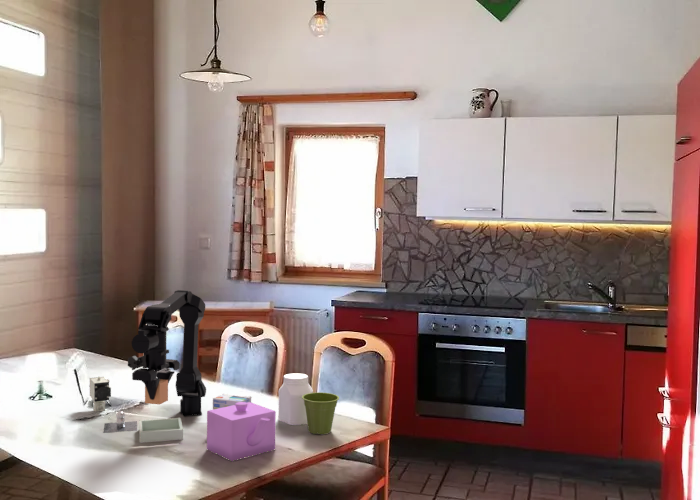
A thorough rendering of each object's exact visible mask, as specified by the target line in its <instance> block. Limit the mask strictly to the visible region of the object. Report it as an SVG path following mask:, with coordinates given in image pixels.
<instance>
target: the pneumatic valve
mask: <svg viewBox="0 0 700 500" xmlns="http://www.w3.org/2000/svg"><path fill="white" fill-rule="evenodd" d="M88 386H89V396H90V398H91V399H92V400H93V402H92V403H93V412H95V413H96V412H105V411H106V402H105V401H109V400H110V397H111V396H112V387H110V379H109V378H105V377H104V376H98V377H89V385H88Z"/></svg>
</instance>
